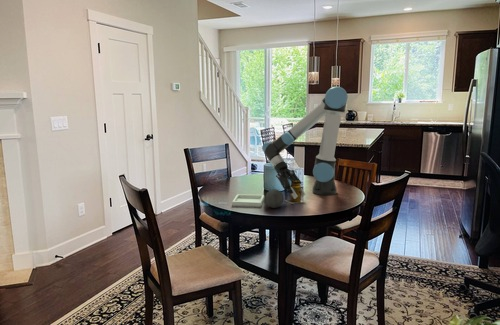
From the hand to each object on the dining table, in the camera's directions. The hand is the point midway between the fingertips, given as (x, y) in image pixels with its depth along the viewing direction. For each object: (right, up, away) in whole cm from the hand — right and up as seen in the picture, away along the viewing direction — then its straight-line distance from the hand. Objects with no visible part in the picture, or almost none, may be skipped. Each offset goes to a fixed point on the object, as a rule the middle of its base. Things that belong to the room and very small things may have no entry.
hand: (300, 196), depth 199 cm
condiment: (-3, -3, +3) cm, 5 cm away
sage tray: (-29, -4, +1) cm, 29 cm away
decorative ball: (-15, -5, -9) cm, 18 cm away
